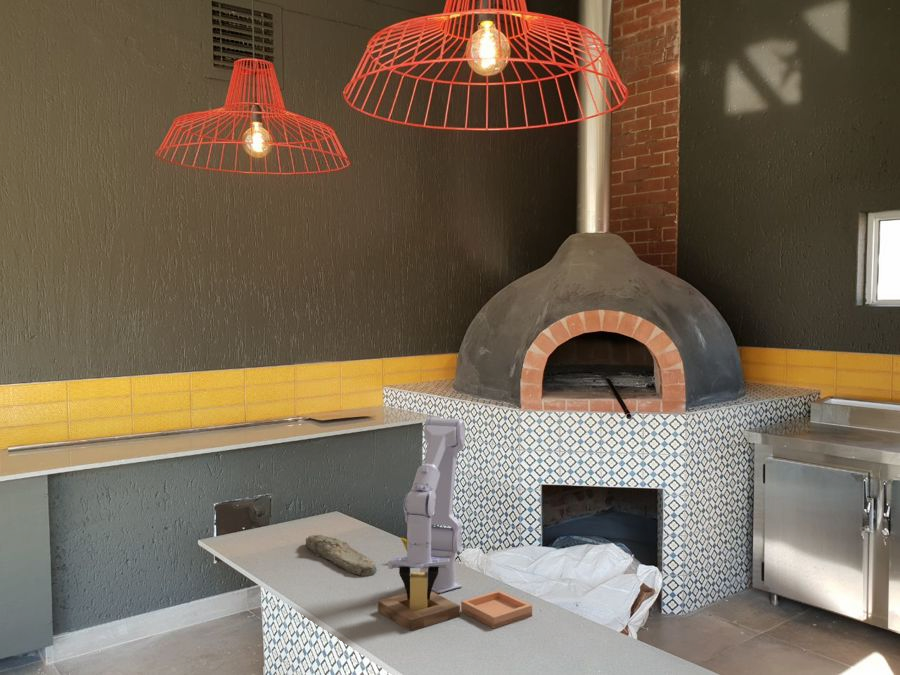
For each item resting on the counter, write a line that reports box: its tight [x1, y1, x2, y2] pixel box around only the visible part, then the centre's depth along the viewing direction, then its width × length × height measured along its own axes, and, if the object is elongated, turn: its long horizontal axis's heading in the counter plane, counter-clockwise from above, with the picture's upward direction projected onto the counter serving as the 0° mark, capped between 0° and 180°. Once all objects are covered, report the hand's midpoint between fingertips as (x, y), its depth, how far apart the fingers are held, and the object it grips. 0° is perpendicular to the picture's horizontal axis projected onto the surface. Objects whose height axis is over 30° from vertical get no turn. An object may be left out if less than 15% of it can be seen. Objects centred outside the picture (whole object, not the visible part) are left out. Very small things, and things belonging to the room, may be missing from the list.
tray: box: [460, 590, 533, 629], centre depth 179 cm, size 12×12×2 cm
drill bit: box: [400, 536, 407, 551], centre depth 216 cm, size 5×5×10 cm
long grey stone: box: [305, 534, 377, 577], centre depth 218 cm, size 35×5×10 cm
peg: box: [410, 571, 428, 611], centre depth 179 cm, size 4×4×9 cm
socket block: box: [377, 590, 461, 632], centre depth 179 cm, size 14×14×2 cm
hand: (418, 597), depth 179 cm, fingers closed on peg, 4 cm apart
